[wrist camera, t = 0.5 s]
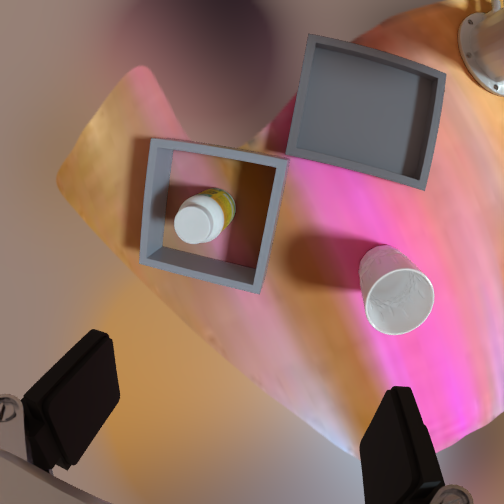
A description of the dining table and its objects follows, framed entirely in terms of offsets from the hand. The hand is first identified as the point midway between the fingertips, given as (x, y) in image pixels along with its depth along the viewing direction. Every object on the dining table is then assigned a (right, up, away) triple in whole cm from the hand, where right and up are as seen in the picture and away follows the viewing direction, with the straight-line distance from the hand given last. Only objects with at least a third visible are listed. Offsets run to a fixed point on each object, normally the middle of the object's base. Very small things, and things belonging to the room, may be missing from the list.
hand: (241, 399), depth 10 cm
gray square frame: (-4, +10, +32) cm, 34 cm away
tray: (+14, +22, +25) cm, 36 cm away
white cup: (+18, +3, +31) cm, 36 cm away
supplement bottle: (-4, +10, +32) cm, 34 cm away
